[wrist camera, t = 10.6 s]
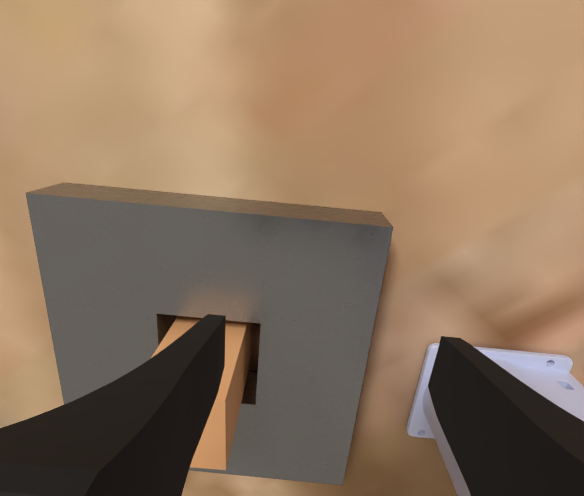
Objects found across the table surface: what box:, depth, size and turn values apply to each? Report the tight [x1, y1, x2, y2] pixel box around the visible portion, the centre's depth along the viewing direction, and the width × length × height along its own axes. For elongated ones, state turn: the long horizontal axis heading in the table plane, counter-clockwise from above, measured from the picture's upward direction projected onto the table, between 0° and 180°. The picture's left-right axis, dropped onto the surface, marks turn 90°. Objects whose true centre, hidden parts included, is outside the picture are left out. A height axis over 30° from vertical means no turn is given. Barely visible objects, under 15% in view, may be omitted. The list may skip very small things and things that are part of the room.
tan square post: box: [151, 316, 251, 470], centre depth 20 cm, size 4×4×8 cm
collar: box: [26, 183, 393, 485], centre depth 22 cm, size 19×19×3 cm
